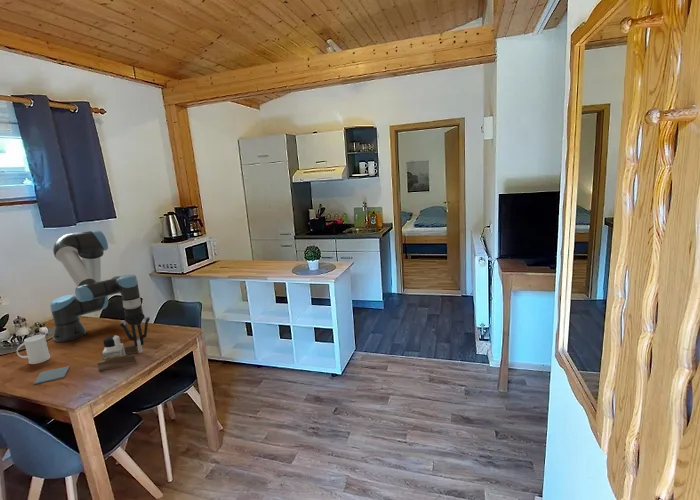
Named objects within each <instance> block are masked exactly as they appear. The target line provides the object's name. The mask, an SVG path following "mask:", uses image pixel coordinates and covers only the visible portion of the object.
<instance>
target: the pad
mask: <svg viewBox="0 0 700 500" xmlns="http://www.w3.org/2000/svg"><path fill="white" fill-rule="evenodd" d="M70 367H71V366H70V365H67V366H65V367H59V368H53V369H50V370H46V371H45V370H44V371H41V372H40V373H39V375H38V376H37V377H36V379H35V381H34V382H33V386H34V385H38V384H39V385H40V384H44V383H47V382H52V381H57V380H61V379H64V378H65V377H66V375H67V374H68V372H69V369H70Z"/></svg>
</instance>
